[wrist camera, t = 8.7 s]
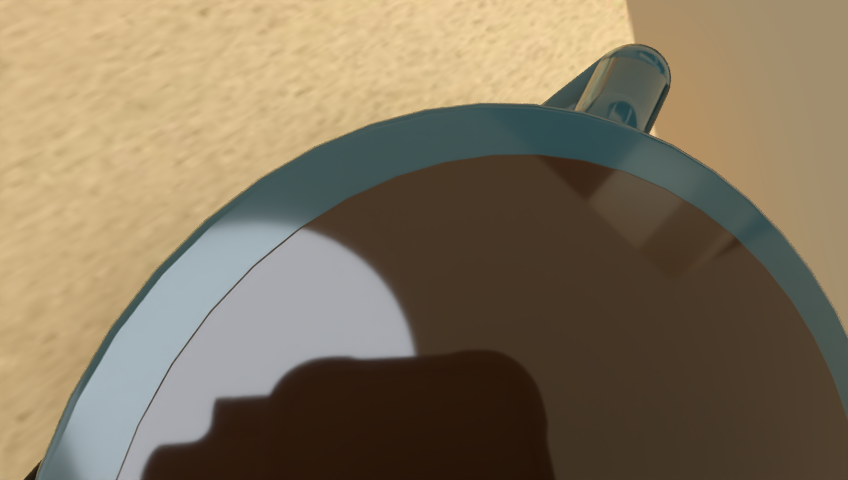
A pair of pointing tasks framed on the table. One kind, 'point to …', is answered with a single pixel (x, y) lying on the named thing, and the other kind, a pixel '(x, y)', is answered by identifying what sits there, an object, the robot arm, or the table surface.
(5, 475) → the table surface
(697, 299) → the mug
